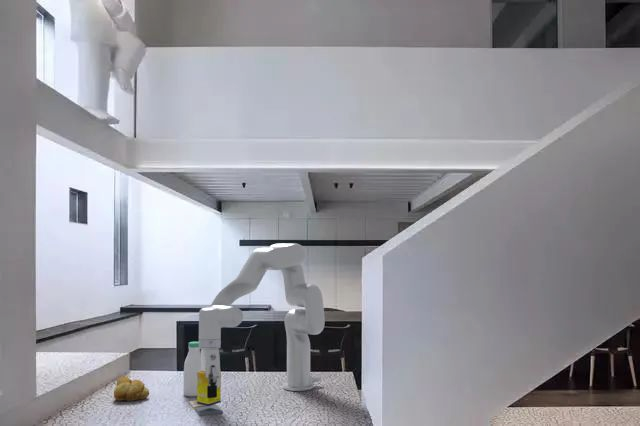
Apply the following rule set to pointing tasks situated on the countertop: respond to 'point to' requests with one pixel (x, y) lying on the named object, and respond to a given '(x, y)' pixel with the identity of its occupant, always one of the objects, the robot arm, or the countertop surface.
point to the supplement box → (202, 390)
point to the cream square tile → (195, 405)
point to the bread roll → (130, 389)
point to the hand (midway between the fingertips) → (209, 394)
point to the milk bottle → (192, 369)
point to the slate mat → (208, 410)
